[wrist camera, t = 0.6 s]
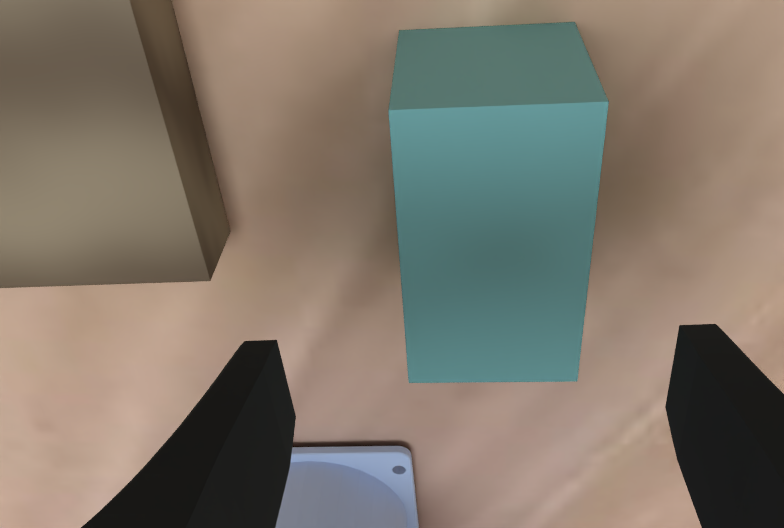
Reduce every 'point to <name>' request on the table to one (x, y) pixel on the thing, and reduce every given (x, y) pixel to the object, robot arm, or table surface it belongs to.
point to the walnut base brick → (102, 148)
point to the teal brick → (495, 198)
